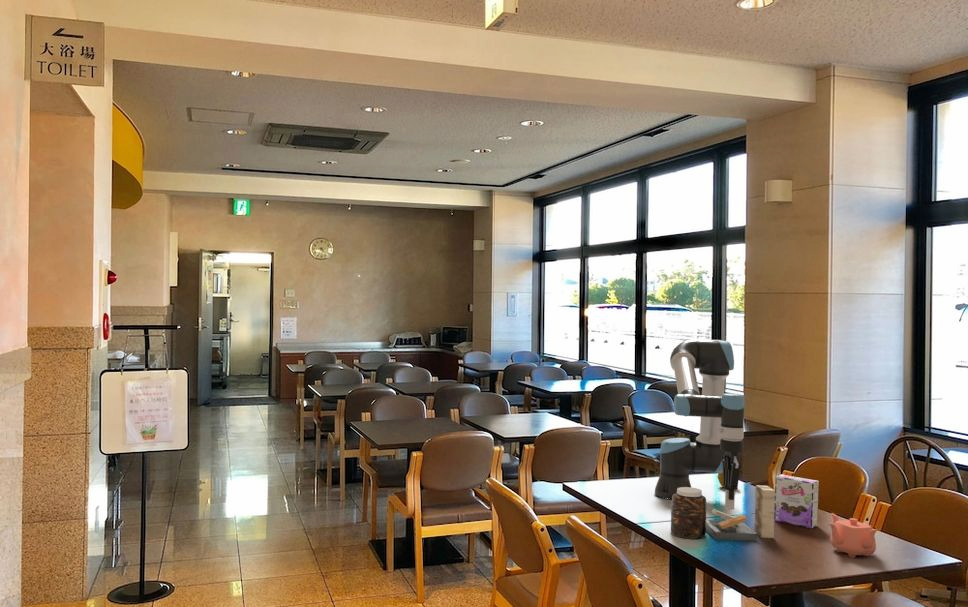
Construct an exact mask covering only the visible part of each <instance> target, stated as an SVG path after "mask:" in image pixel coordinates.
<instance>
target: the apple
mask: <svg viewBox="0 0 968 607" xmlns="http://www.w3.org/2000/svg"><path fill="white" fill-rule="evenodd" d="M717 480H718V482H719V485H720V486H721V487H722V488H724V489H725V485H723V472H722V473H717Z"/></svg>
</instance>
